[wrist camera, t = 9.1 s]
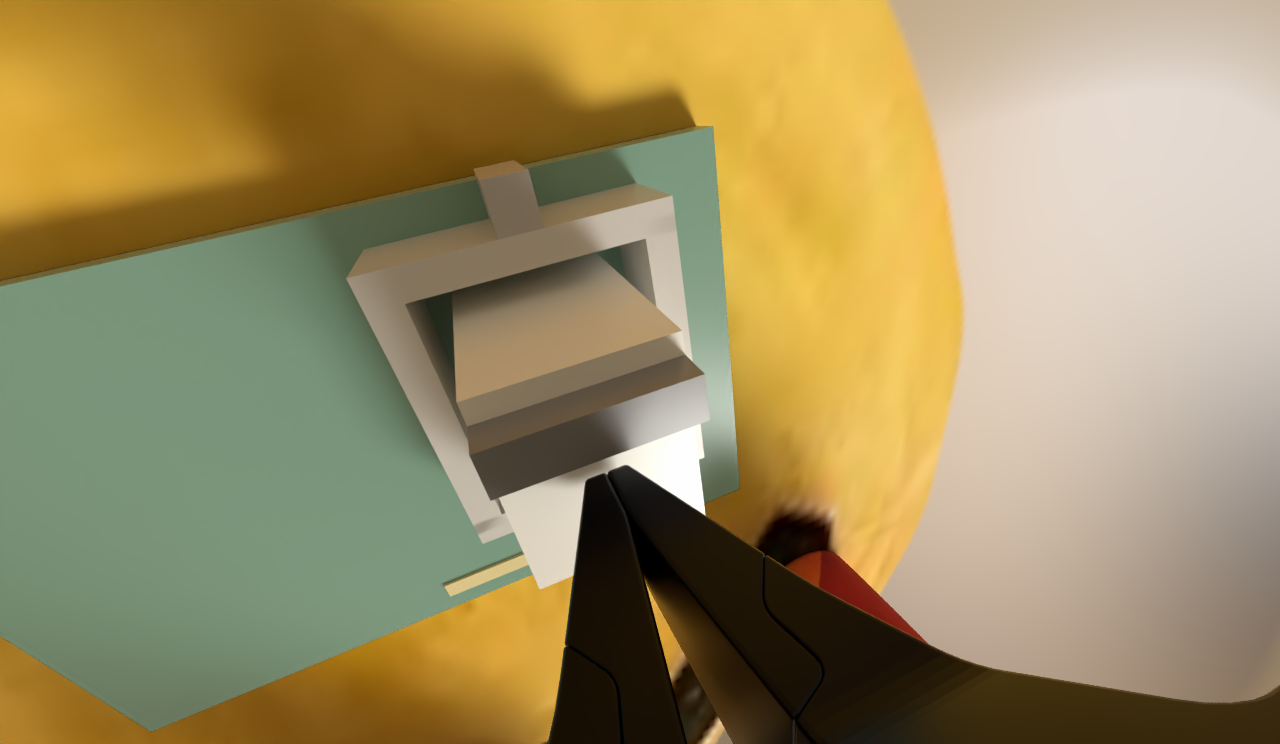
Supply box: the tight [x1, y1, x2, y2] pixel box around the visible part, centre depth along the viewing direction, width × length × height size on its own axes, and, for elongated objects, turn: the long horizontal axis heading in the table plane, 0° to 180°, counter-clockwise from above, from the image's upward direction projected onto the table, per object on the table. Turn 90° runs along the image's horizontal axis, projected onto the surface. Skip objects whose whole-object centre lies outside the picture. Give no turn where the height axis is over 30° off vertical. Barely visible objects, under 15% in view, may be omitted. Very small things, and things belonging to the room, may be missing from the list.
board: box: [0, 126, 740, 732], centre depth 14 cm, size 14×22×4 cm, turn 99°
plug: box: [452, 252, 710, 589], centre depth 11 cm, size 5×4×7 cm
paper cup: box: [785, 550, 928, 644], centre depth 22 cm, size 8×8×14 cm
